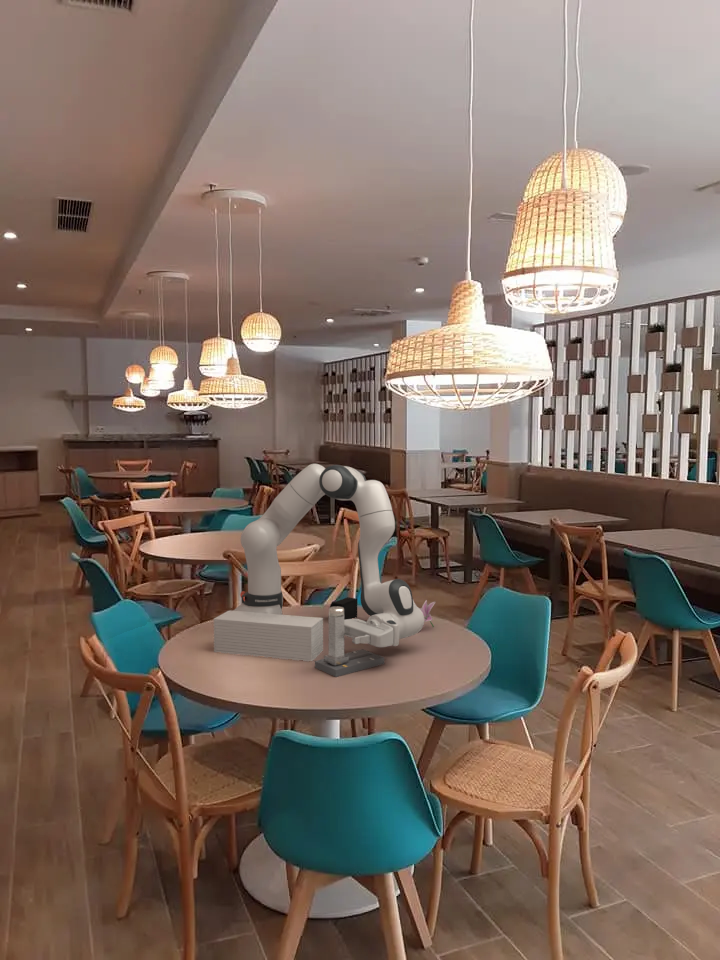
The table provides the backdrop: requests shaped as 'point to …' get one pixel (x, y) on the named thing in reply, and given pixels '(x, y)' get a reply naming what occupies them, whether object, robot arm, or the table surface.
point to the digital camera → (347, 607)
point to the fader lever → (336, 637)
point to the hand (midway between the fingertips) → (343, 637)
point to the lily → (427, 611)
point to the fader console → (351, 663)
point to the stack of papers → (268, 635)
